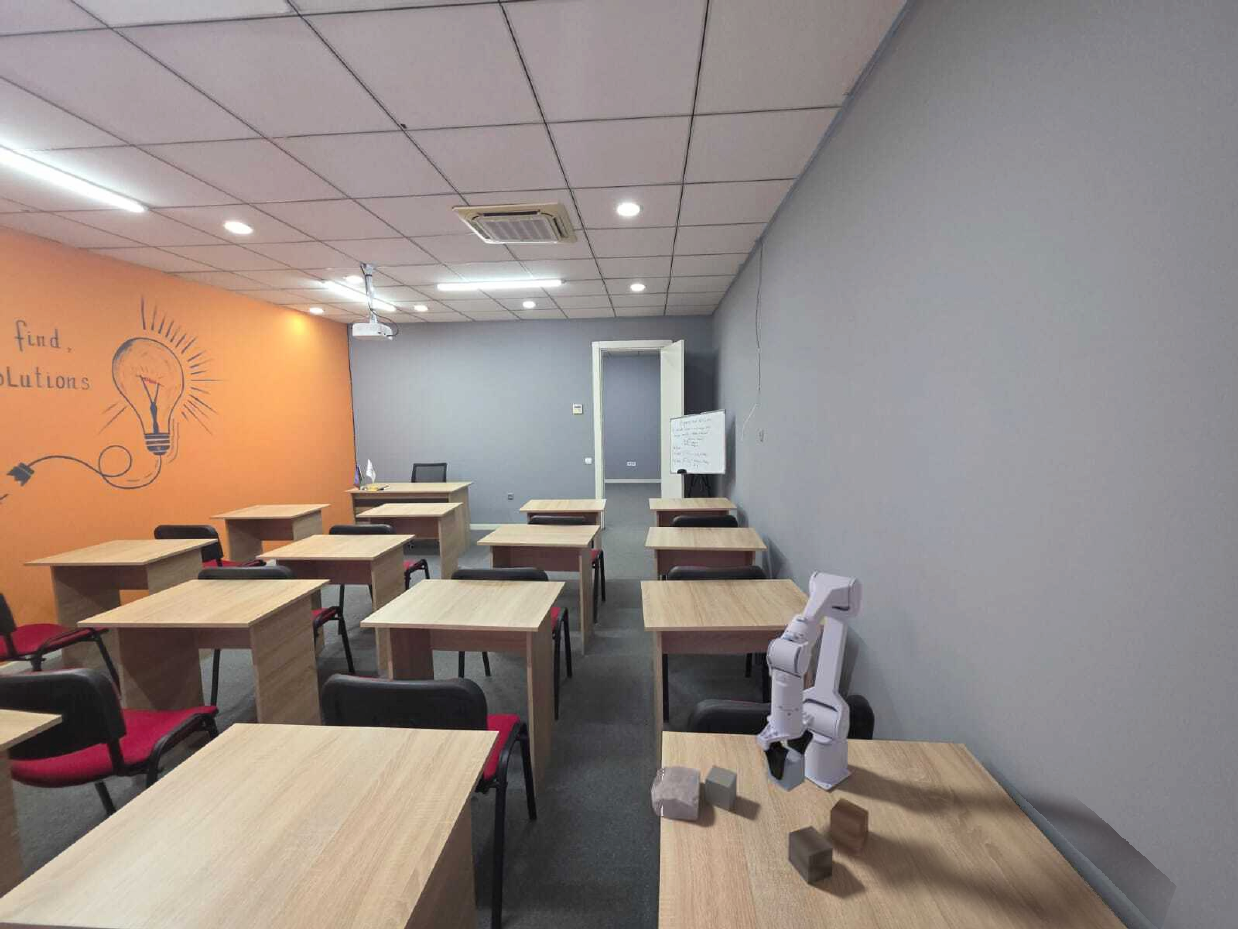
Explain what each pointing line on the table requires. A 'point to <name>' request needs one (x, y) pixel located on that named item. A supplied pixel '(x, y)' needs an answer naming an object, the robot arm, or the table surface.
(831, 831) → the walnut cube
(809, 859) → the ebony cube
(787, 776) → the slate blue cube
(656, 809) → the stone block
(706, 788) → the grey cube
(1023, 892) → the table surface
